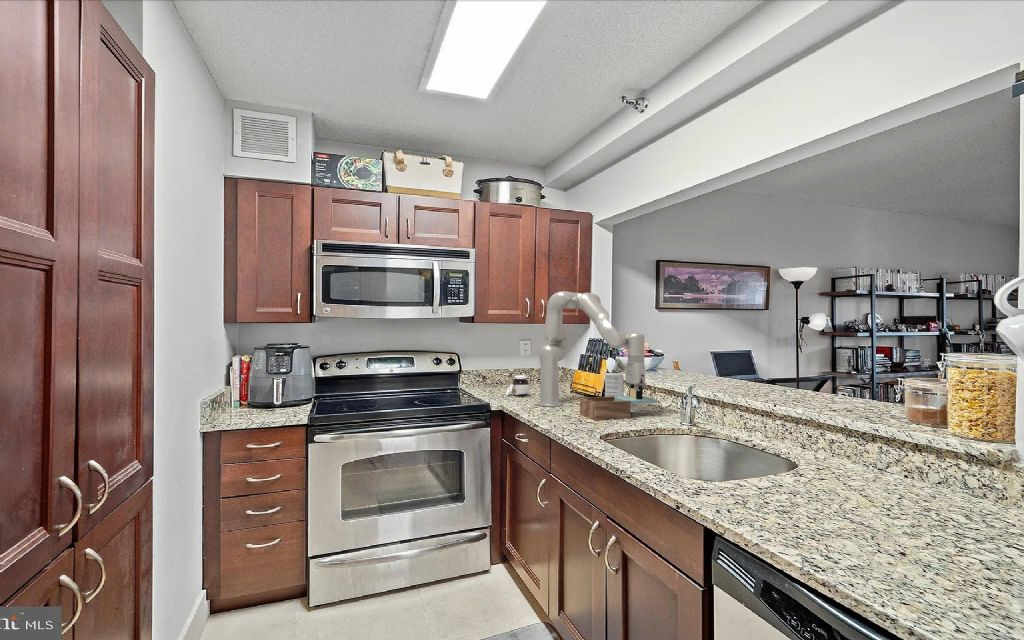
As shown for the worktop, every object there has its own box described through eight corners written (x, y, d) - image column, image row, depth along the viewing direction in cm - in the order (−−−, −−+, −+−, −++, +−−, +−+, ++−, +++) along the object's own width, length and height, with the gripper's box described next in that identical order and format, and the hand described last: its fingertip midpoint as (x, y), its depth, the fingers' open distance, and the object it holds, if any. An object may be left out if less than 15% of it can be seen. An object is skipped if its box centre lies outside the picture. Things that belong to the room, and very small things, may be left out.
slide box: (580, 414, 221) (580, 398, 221) (613, 412, 227) (613, 396, 228) (595, 420, 208) (595, 402, 208) (630, 418, 214) (630, 400, 214)
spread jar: (530, 396, 276) (530, 376, 276) (514, 398, 270) (514, 377, 270) (518, 393, 286) (519, 374, 286) (503, 395, 279) (503, 375, 280)
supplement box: (623, 408, 239) (623, 375, 240) (604, 407, 241) (605, 374, 241) (622, 405, 249) (623, 373, 249) (604, 404, 251) (605, 372, 251)
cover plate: (614, 400, 226) (614, 387, 226) (642, 399, 232) (642, 386, 232) (628, 404, 216) (628, 391, 216) (656, 402, 221) (657, 389, 221)
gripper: (619, 358, 231) (618, 395, 230) (640, 361, 215) (639, 401, 214) (632, 358, 233) (631, 395, 233) (654, 360, 217) (653, 400, 217)
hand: (635, 397), depth 224 cm, fingers closed on cover plate, 5 cm apart
